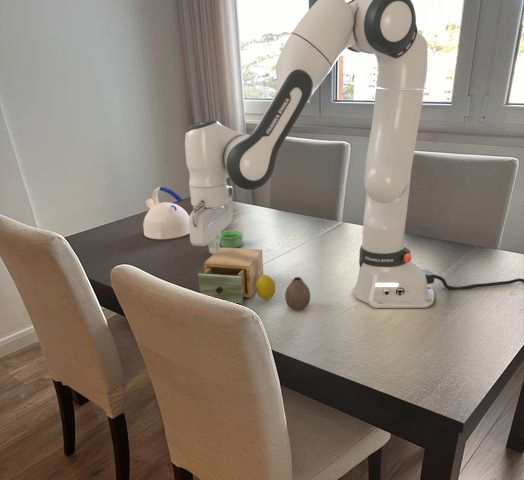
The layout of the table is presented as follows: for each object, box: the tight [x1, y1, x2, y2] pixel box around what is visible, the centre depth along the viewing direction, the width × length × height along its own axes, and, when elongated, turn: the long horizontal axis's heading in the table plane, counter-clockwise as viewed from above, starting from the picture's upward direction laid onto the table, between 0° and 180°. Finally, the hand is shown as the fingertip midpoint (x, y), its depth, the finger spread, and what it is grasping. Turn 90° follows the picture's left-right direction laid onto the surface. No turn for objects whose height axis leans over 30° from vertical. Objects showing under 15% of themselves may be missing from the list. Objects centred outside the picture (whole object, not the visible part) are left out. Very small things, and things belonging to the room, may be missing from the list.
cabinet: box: [203, 246, 264, 298], centre depth 149 cm, size 14×14×10 cm
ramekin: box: [220, 229, 244, 248], centre depth 183 cm, size 9×9×4 cm
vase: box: [284, 276, 311, 312], centre depth 134 cm, size 7×7×9 cm
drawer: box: [197, 267, 248, 305], centre depth 143 cm, size 14×13×8 cm
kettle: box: [142, 186, 190, 241], centre depth 198 cm, size 20×21×18 cm
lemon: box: [255, 274, 276, 302], centre depth 140 cm, size 6×6×8 cm
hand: (214, 251), depth 124 cm, fingers closed
